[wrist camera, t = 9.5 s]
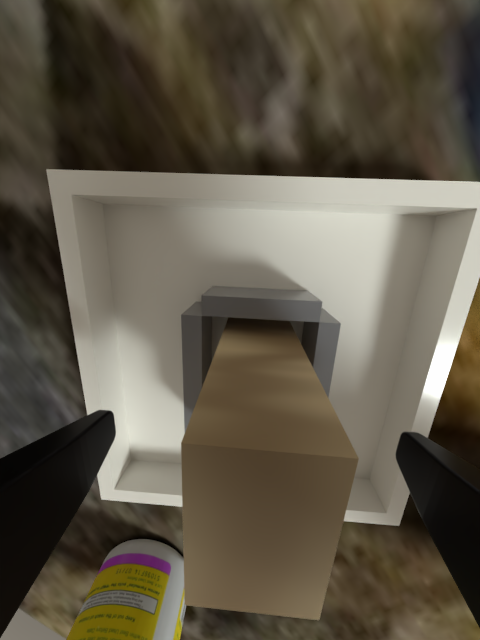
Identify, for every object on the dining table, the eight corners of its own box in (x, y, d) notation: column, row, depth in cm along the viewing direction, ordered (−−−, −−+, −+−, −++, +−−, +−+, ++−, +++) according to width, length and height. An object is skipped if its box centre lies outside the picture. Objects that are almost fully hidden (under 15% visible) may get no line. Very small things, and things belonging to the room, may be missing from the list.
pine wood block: (289, 321, 12) (358, 458, 4) (280, 400, 13) (318, 620, 5) (228, 317, 12) (181, 443, 4) (225, 396, 13) (184, 605, 5)
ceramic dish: (450, 198, 10) (530, 177, 7) (375, 481, 15) (406, 539, 12) (91, 186, 11) (31, 163, 8) (124, 460, 16) (94, 510, 13)
